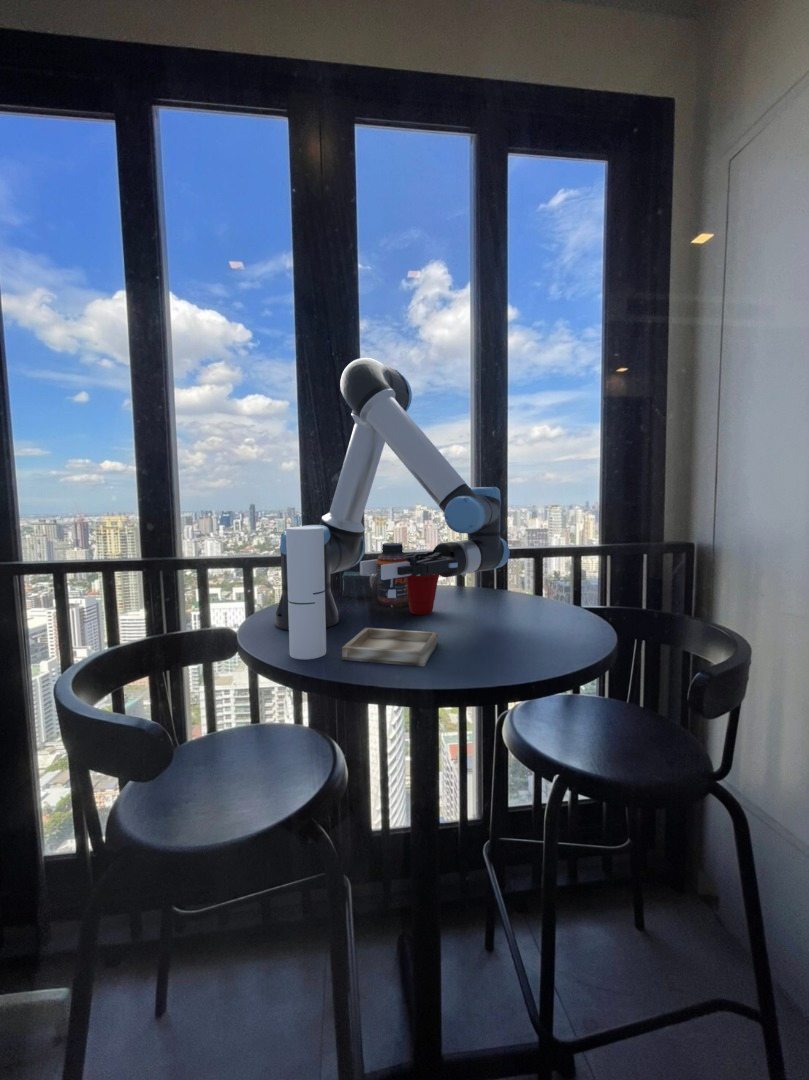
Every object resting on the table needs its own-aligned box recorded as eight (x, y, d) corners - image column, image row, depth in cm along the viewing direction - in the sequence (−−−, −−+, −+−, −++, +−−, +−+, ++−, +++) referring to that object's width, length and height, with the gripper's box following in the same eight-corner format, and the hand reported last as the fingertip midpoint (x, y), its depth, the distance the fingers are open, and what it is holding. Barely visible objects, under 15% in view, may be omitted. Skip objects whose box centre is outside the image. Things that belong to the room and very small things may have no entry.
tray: (342, 659, 95) (342, 647, 94) (365, 638, 108) (365, 627, 108) (424, 666, 91) (424, 653, 91) (437, 643, 104) (437, 632, 104)
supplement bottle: (399, 605, 94) (398, 546, 93) (372, 602, 97) (371, 544, 96) (412, 598, 100) (412, 542, 99) (386, 596, 102) (386, 541, 101)
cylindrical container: (333, 653, 99) (330, 527, 96) (303, 662, 93) (299, 530, 91) (312, 645, 104) (309, 525, 101) (282, 653, 98) (278, 528, 96)
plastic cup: (398, 617, 126) (398, 570, 124) (402, 607, 136) (401, 564, 135) (441, 618, 125) (441, 571, 124) (441, 608, 136) (441, 564, 134)
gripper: (488, 580, 103) (404, 597, 88) (425, 570, 117) (343, 583, 102) (488, 544, 102) (403, 555, 87) (425, 538, 116) (343, 546, 101)
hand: (371, 570), depth 94 cm, fingers closed on supplement bottle, 6 cm apart
